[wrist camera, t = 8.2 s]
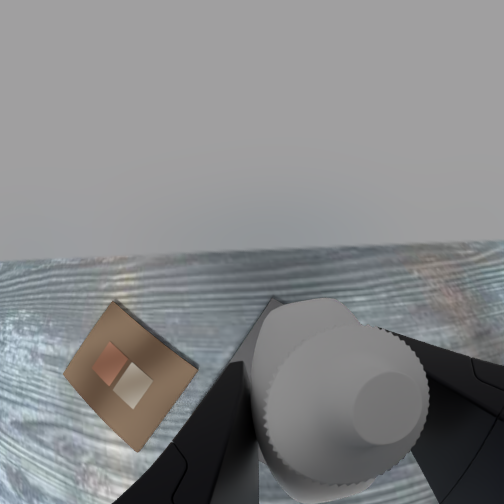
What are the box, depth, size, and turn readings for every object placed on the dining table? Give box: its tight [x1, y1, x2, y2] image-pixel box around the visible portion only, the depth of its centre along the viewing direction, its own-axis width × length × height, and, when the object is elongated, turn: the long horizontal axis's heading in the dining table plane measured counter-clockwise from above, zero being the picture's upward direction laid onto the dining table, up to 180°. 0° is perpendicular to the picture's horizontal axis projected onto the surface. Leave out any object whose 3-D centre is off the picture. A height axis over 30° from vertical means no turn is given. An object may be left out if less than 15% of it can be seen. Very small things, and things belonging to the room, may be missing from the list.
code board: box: [63, 301, 198, 452], centre depth 18 cm, size 9×8×1 cm
